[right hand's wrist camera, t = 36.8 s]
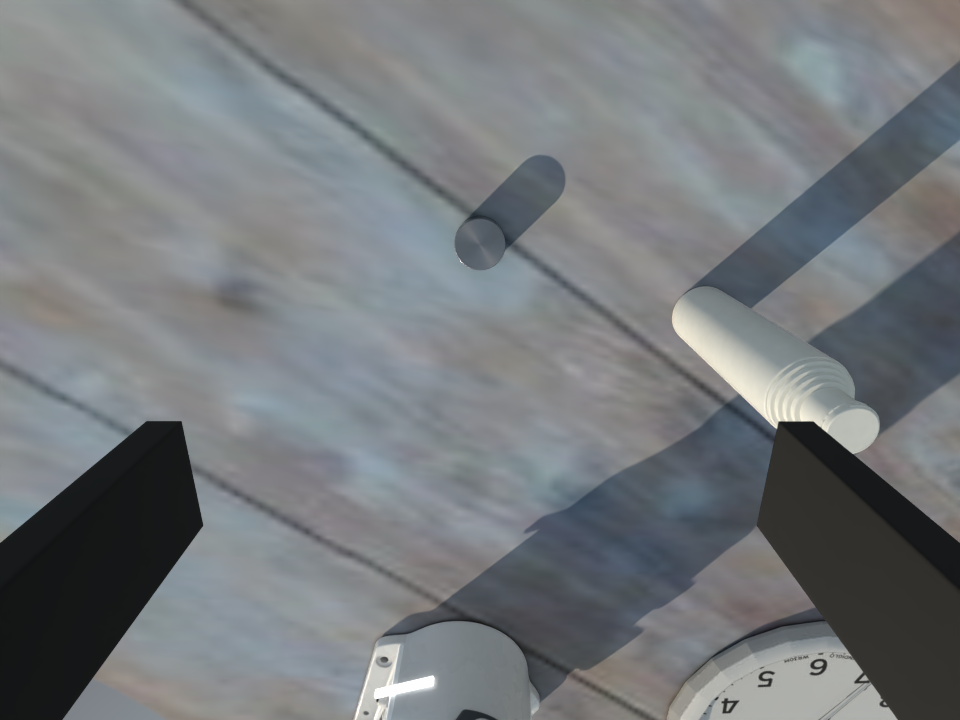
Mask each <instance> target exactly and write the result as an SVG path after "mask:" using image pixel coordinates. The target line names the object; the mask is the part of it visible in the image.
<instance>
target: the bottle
mask: <svg viewBox="0 0 960 720" xmlns="http://www.w3.org/2000/svg"><path fill="white" fill-rule="evenodd" d="M672 323H673V327H674V329H675V331H676V333H677V334H678V335H679V336H680V337H681V338H682V339H683V340H684V341H685V342H686V343H687V344H688V345H689V346H690V347H691V348H693V349H694V350H695V351H696V352H697V353H698V354H699V355H700V356H701V357H702V358H703V359H704V360H705V361H706V362H707V363H708V364H709V365H710V366H711V367H712V368H713V369H714V370H715V371H716V372H717V373H718V374H720V375H721V376H722V377H723V378H724V379H725V380H726V381H727V382H728V383H729V384H730V385H731V386H732V387H733V388H734V389H735V390H736V391H737V392H738V393H739V394H740V395H741V396H742V397H743V398H744V399H746V400H747V401H748V402H749V403H750V404H751V405H752V406H753V407H754V408H755V409H756V410H757V411H758V412H759V413H760V414H761V415H762V416H763V417H764V418H765V419H766V420H767V421H768V422H769V423H770V424H771V425H773V426H774V427H775V428H776V429H777V426H778V421H814V422H815V423H816V424H817V425H818V426H820V427H821V428H822V429H823V430H824V431H826V432H827V433H828V434H829V435H830V436H832V437H833V438H834V439H835V440H836V441H838V442H839V443H840V444H841V445H842V446H844V447H845V448H846V449H847V450H848V451H850V452H851V453H852V454H854V453H858V452H860V451H862V450H864V449H866V448H867V447H869V446H870V445H871V444H872V443H873V442H874V440H875V439H876V437H877V435H878V433H879V429H880V421H879V417H878V415H877V413H876V412H875V411H874V410H873V409H872V408H870V407H868V406H867V405H866V404H864V403H862V402H858V401H857V400H855V399H854V398H855V387H854V383H853V380H852V378H851V376H850V374H849V373H848V371H847V370H846V368H845V367H844V366H843V365H842V364H840V363H839V362H838V361H836V360H834V359H833V358H831V357H829V356H828V355H826V354H824V353H823V352H821V351H820V350H818V349H816V348H815V347H813V346H811V345H810V344H808V343H806V342H805V341H803V340H801V339H800V338H798V337H797V336H795V335H793V334H792V333H790V332H788V331H787V330H785V329H783V328H782V327H780V326H778V325H777V324H775V323H774V322H772V321H770V320H769V319H767V318H765V317H764V316H762V315H760V314H759V313H757V312H755V311H754V310H752V309H751V308H749V307H747V306H746V305H744V304H742V303H741V302H739V301H737V300H736V299H734V298H732V297H731V296H729V295H727V294H726V293H724V292H723V291H721V290H719V289H717V288H714V287H709V286H702V287H697V288H694V289H692V290H690V291H688V292H687V293H685V294H684V295H683V296H682V297H681V298H680V299H679V300H678V302H677V303H676V305H675V307H674V310H673V315H672Z"/></svg>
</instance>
